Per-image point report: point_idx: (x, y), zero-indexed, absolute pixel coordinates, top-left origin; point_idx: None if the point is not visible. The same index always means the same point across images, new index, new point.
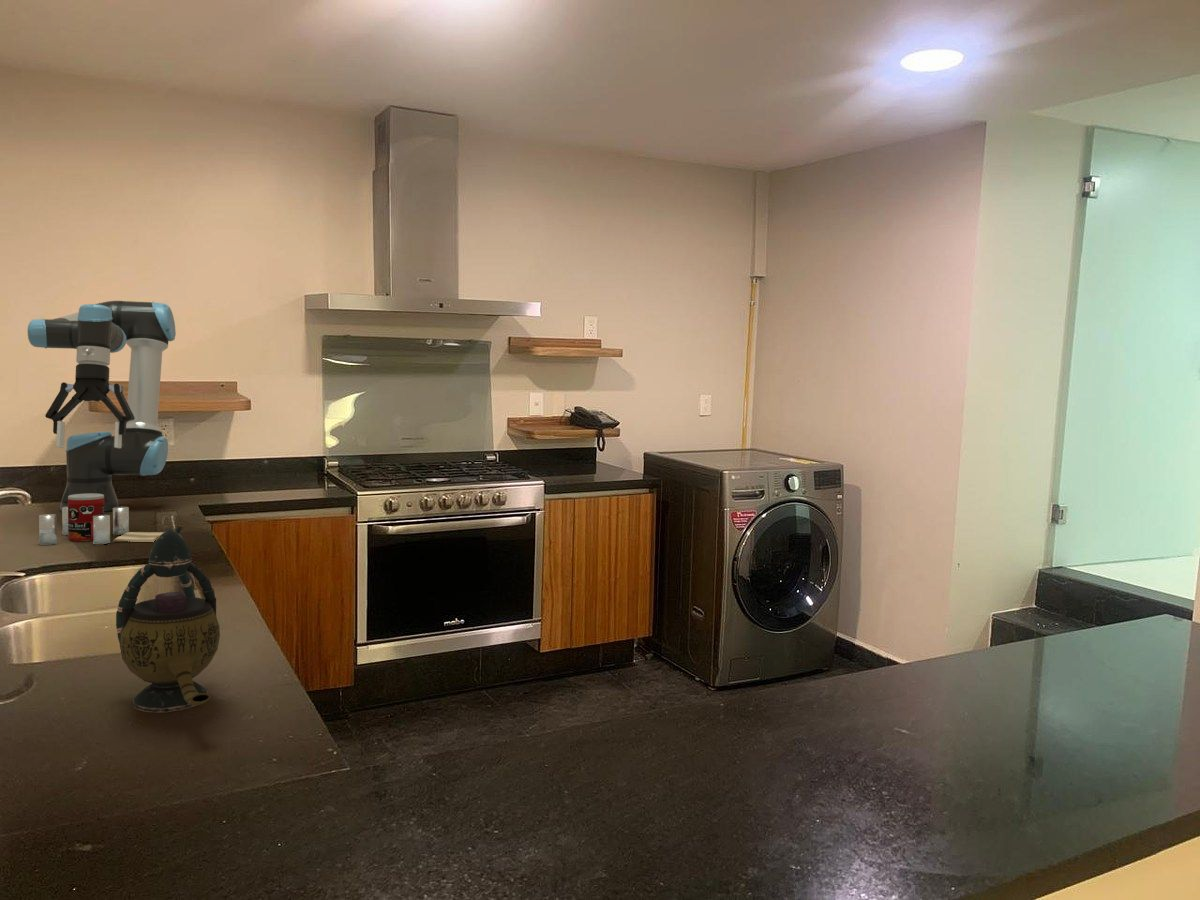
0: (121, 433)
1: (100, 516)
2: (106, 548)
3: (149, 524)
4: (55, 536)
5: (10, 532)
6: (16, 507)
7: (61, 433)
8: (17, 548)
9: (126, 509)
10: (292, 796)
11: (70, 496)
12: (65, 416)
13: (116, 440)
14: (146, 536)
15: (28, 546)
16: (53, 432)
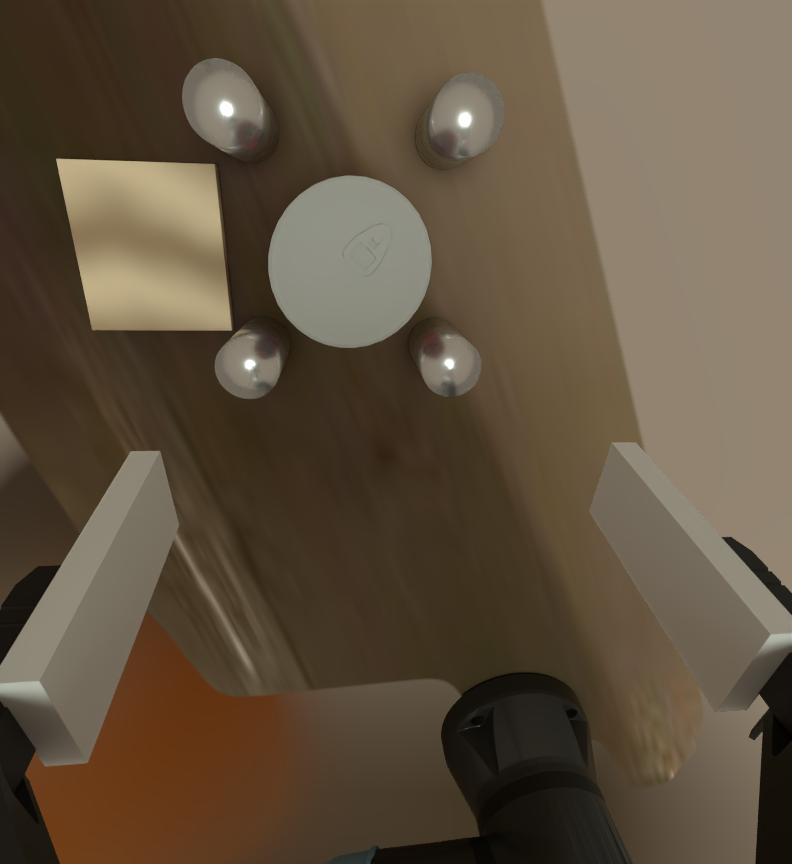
0: (49, 572)
1: (213, 72)
2: (185, 17)
3: (254, 531)
4: (419, 124)
5: (624, 374)
6: (692, 730)
7: (666, 548)
8: (522, 34)
9: (217, 355)
10: None
11: (416, 235)
12: (764, 781)
13: (119, 493)
14: (116, 231)
15: (496, 82)
16: (741, 544)
